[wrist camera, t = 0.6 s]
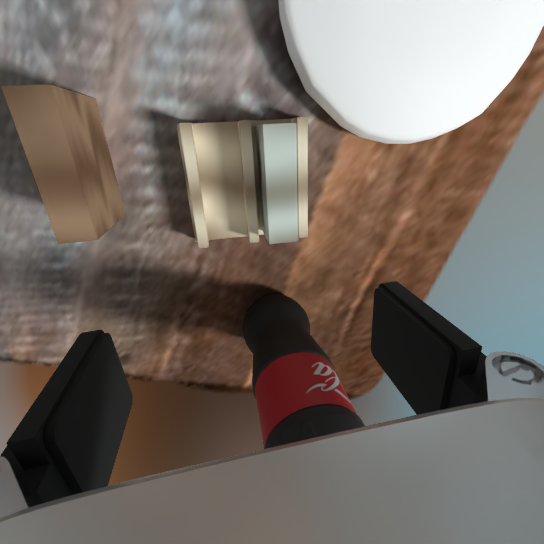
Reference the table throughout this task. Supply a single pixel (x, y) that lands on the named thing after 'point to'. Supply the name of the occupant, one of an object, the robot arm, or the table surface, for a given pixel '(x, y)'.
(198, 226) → the rack
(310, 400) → the cola bottle
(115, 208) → the board
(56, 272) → the table surface
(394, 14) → the plate
